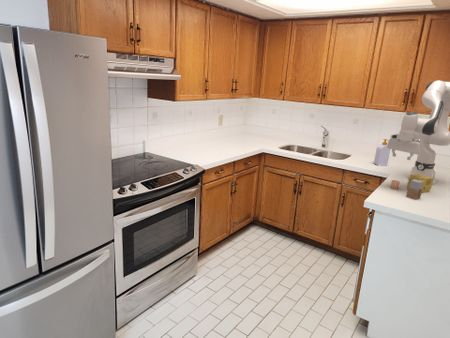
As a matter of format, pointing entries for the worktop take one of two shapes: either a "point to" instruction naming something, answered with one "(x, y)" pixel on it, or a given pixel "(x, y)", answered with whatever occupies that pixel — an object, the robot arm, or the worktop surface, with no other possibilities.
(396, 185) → the peach brown rounded dome
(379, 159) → the soap bottle
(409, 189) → the walnut block
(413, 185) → the grey block
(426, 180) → the cheese
